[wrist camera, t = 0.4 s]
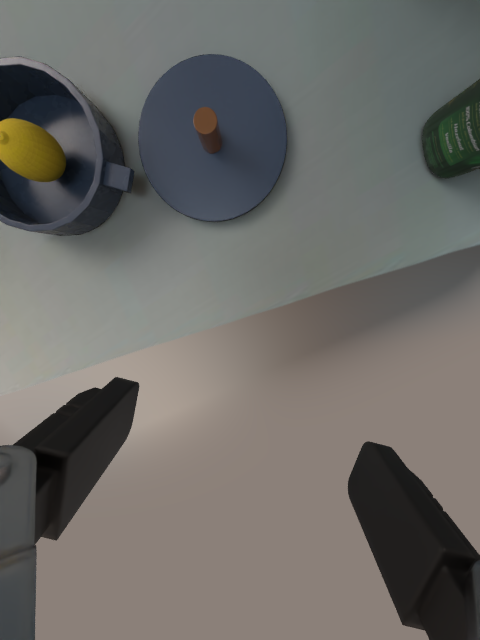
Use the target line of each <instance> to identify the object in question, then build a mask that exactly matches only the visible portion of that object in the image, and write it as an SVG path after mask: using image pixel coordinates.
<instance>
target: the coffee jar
mask: <svg viewBox="0 0 480 640" xmlns="http://www.w3.org/2000/svg"><path fill="white" fill-rule="evenodd" d="M422 142H423V150H424V155H425V159H426V162H427V164H428V166H429V168H430V170H431V171H432V172H433V173H434V174H435V175H437V176H439V177H442V178H450V177H455V176H458V175H462V174H465V173H468V172H471V171H473V170H476V169H479V168H480V79H479V80H478V81H476V82H475V83H474V84H472V85H471V86H470V87H468V88H467V89H466V90H464V91H463V92H462V93H460V94H459V95H458V96H456V97H455V98H454V99H452V100H451V101H450V102H448V103H447V104H446V105H444V106H443V107H442V108H440V109H439V110H438V111H436V112H435V113H434V114H433V115H432V116H431V117H430V118H429V120H428V121H427V123H426V125H425V127H424V130H423V135H422Z"/></svg>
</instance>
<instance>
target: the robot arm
mask: <svg viewBox="0 0 480 640" xmlns="http://www.w3.org/2000/svg"><path fill="white" fill-rule="evenodd" d="M138 391H139V383H138V382H134V381H130V380H126V379H122V378H118V377H116V378H114V379H113V380H112V381H111V382H109V383H108V384H107V385H106V386H105V387H104V388H102V389H99V388H92V389H89V390H87V391H84V392H82V393H79V394H78V395H76V396H75V397H74V398H72V399H71V400H70V401H69V402H68V403H67V404H66V405H63V406H62V407H61V408H60V409H58V410H57V411H56V413H53V414H52V415H51V416H49V417H48V418H47V419H45V420H44V421H43V422H42V423H41V424H39V425H38V426H37V427H35V428H34V429H33V430H31V431H30V432H29V433H28V434H26V435H25V436H24V437H23V438H21V439H20V440H19V441H18V442H16V443H15V444H13V445H3V446H0V640H35V603H36V602H35V601H36V545H35V544H36V543H37V541H38V540H39V539H40V537H44V538H49V539H53V540H57V539H58V538H59V536H60V535H61V533H62V532H63V531H64V529H65V528H66V526H67V525H68V523H69V522H70V520H71V519H72V518H73V516H74V515H75V513H76V512H77V510H78V509H79V507H80V506H81V504H82V503H83V502H84V500H85V499H86V497H87V496H88V494H89V493H90V491H91V490H92V488H93V487H94V485H95V484H96V483H97V481H98V480H99V478H100V477H101V475H102V474H103V473H104V471H105V470H106V468H107V467H108V465H109V464H110V462H111V461H112V459H113V458H114V457H115V455H116V454H117V452H118V451H119V449H120V448H121V446H122V445H123V443H124V442H125V440H126V439H127V437H128V434H129V432H130V429H131V426H132V422H133V417H134V412H135V406H136V401H137V396H138ZM348 494H349V498H350V500H351V503H352V505H353V507H354V510H355V512H356V515H357V517H358V520H359V522H360V524H361V527H362V529H363V531H364V534H365V536H366V539H367V541H368V543H369V546H370V548H371V551H372V553H373V555H374V558H375V560H376V562H377V565H378V567H379V570H380V572H381V574H382V577H383V579H384V581H385V584H386V586H387V588H388V591H389V593H390V596H391V598H392V601H393V603H394V605H395V608H396V610H397V613H398V615H399V617H400V620H401V622H402V625H405V626H409V627H413V628H417V629H421V630H425V631H426V633H427V635H428V637H429V640H480V555H479V554H478V553H477V551H476V550H475V549H474V547H473V546H472V545H471V544H470V542H469V541H468V540H467V539H466V537H465V536H464V535H463V533H462V532H461V531H460V529H459V528H458V527H457V526H456V524H455V523H454V522H453V520H452V519H451V518H450V517H449V515H448V514H447V513H446V512H444V511H443V508H442V506H441V505H440V504H439V503H438V501H437V500H436V499H435V498H433V495H432V494H431V492H430V491H429V490H428V488H427V487H426V486H425V485H424V483H423V482H422V481H421V480H420V479H419V478H418V477H417V476H416V475H415V474H414V473H412V472H411V471H410V470H409V469H408V468H407V467H406V466H405V464H404V463H403V462H402V460H401V459H400V458H399V456H398V455H397V454H396V452H395V451H394V450H393V449H392V448H391V447H388V446H385V445H380V444H377V443H373V442H365V443H364V444H363V446H362V448H361V451H360V453H359V455H358V458H357V460H356V463H355V465H354V467H353V470H352V472H351V475H350V477H349V481H348Z"/></svg>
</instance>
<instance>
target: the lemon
mask: <svg viewBox="0 0 480 640" xmlns="http://www.w3.org/2000/svg"><path fill="white" fill-rule="evenodd" d="M0 160H1V161H2V162H3V163H4V164H5V165H6V166H7V167H9V168H10V169H11V170H13V171H14V172H16V173H17V174H19V175H21V176H23V177H25V178H27V179H30V180H33V181H37V182H51V181H55V180H57V179H58V178H60V177H61V176H62V174H63V173H64V171H65V168H66V158H65V154H64V151H63V149H62V147H61V146H60V144H59V143H58V142H57V141H56V139H55V138H54V137H53V136H52V135H51V134H49V133H48V132H47V131H46V130H44V129H43V128H41V127H40V126H37V125H35V124H33V123H31V122H28V121H25V120H21V119H15V118H11V119H4V120H2V121H0Z"/></svg>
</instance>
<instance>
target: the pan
mask: <svg viewBox="0 0 480 640" xmlns="http://www.w3.org/2000/svg"><path fill="white" fill-rule="evenodd" d="M11 118H15V119H21V120H25V121H28V122H31V123H33V124H35V125H37V126H40V127H41V128H43V129H44V130H46V131H47V132H48V133H49V134H51V135H52V136H53V137H54V138H55V139H56V141H57V142H58V143H59V144H60V146H61V147H62V149H63V151H64V154H65V158H66V168H65V171H64V173H63V174H62V176H61V177H60V178H58V179H57V180H55V181H51V182H37V181H33V180H30V179H27V178H25V177H23V176H21V175H19V174H17V173H16V172H14V171H13V170H11V169H10V168H9V167H7V166H6V165H5V164H4V163H3V162H2V161H1V160H0V221H2V222H3V223H5V224H6V225H9V226H12V227H16V228H20V229H23V230H27V231H32V232H39V233H46V234H53V235H60V236H61V235H79V234H82V233H86V232H88V231H91V230H93V229H95V228H96V227H98V226H99V225H101V224H102V223H103V222H105V221H106V220H107V219H108V217H109V216H110V215H111V214H112V212H113V211H114V210H115V208H116V206H117V204H118V202H119V200H120V197H121V195H122V191H124V192H128V193H131V189H132V183H133V177H134V170H132V169H131V168H128V167H125V165H124V158H123V153H122V149H121V146H120V143H119V141H118V138H117V136H116V134H115V132H114V130H113V128H112V126H111V125H110V124H109V122H108V121H107V120H106V119H105V117H104V116H103V115H102V114H101V112H100V111H99V110H98V109H97V108H96V107H95V106H94V105H93V104H92V103H91V102H90V100H89V99H88V98H87V97H86V96H85V95H84V94H83V93H82V92H81V91H80V90H79V89H78V88H77V87H76V86H75V85H74V84H73V83H72V82H71V81H70V80H68V79H67V78H66V77H64V76H63V75H61V74H60V73H58V72H57V71H56V70H54V69H53V68H51V67H50V66H48V65H47V64H44V63H41V62H38V61H34V60H31V59H27V58H24V57H20V56H19V57H7V58H0V121H2V120H4V119H11Z"/></svg>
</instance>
